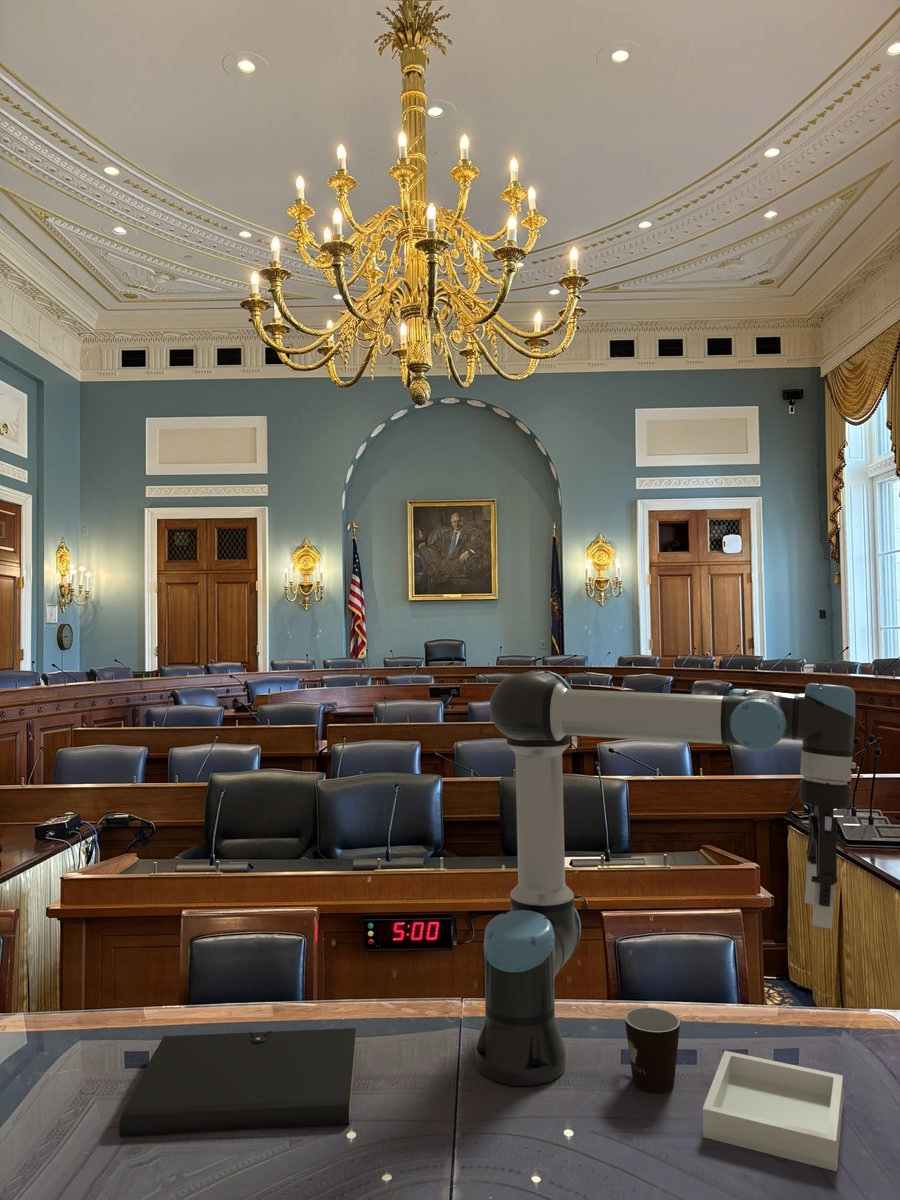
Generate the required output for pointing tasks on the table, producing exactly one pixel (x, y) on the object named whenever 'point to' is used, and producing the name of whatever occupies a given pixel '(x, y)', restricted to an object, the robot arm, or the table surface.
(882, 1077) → the table surface
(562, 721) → the robot arm
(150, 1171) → the table surface
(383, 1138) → the table surface
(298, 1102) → the file folder
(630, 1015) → the coffee mug
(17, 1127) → the table surface
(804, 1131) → the white storage tray
